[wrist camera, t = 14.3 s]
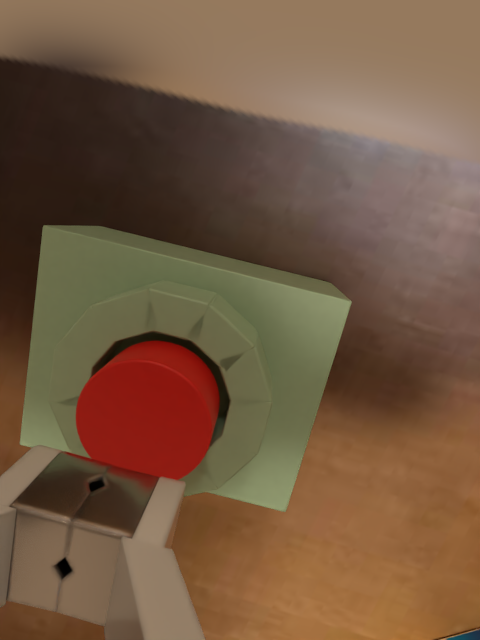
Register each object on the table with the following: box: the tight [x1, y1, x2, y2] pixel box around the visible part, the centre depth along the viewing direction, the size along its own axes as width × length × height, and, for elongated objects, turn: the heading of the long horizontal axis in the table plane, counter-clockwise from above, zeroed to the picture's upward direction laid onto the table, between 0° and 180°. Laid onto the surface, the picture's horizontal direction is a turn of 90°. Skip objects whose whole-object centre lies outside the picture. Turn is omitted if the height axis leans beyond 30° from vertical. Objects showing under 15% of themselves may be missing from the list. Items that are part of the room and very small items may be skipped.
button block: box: [20, 225, 352, 512], centre depth 14 cm, size 10×8×6 cm
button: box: [76, 341, 220, 480], centre depth 11 cm, size 4×4×2 cm
